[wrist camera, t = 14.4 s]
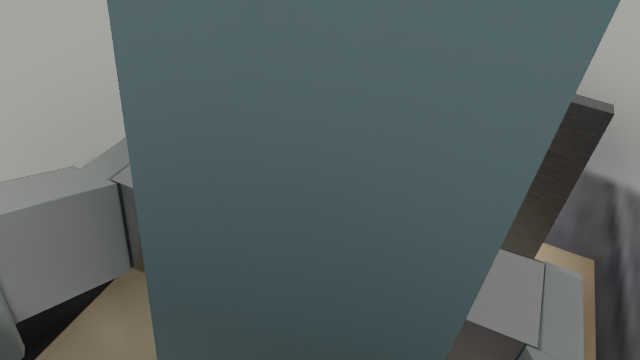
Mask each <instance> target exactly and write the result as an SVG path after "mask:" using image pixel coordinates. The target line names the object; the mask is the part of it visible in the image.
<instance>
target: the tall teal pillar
mask: <svg viewBox="0 0 640 360" xmlns="http://www.w3.org/2000/svg"><path fill="white" fill-rule="evenodd" d="M619 2H620V0H107V3H108V11H109V17H110V25H111V31H112V39H113V46H114V54H115V61H116V68H117V75H118V82H119V89H120V96H121V103H122V111H123V118H124V124H125V132H126V139H127V147H128V154H129V161H130V168H131V175H132V182H133V190H134V197H135V204H136V211H137V218H138V225H139V233H140V240H141V247H142V254H143V261H144V268H145V276H146V283H147V290H148V297H149V304H150V311H151V319H152V326H153V333H154V340H155V347H156V354H157V360H446V359H447V357H448V355H449V353H450V351H451V349H452V347H453V345H454V343H455V341H456V338H457V336H458V334H459V332H460V330H461V328H462V326H463V324H464V322H465V320H466V318H467V316H468V314H469V312H470V310H471V308H472V305H473V303H474V301H475V299H476V297H477V295H478V293H479V291H480V289H481V287H482V285H483V283H484V281H485V279H486V277H487V274H488V272H489V270H490V268H491V266H492V264H493V262H494V260H495V258H496V256H497V254H498V252H499V250H500V248H501V246H502V244H503V241H504V239H505V237H506V235H507V233H508V231H509V229H510V227H511V225H512V223H513V221H514V219H515V217H516V215H517V213H518V211H519V208H520V206H521V204H522V202H523V200H524V198H525V196H526V194H527V192H528V190H529V188H530V186H531V184H532V182H533V180H534V178H535V175H536V173H537V171H538V169H539V167H540V165H541V163H542V161H543V159H544V157H545V155H546V153H547V151H548V149H549V147H550V145H551V142H552V140H553V138H554V136H555V134H556V132H557V130H558V128H559V126H560V124H561V122H562V120H563V118H564V116H565V114H566V112H567V109H568V107H569V105H570V103H571V101H572V99H573V97H574V95H575V93H576V91H577V89H578V87H579V85H580V83H581V81H582V79H583V76H584V74H585V72H586V70H587V68H588V66H589V64H590V62H591V60H592V58H593V56H594V54H595V52H596V50H597V48H598V45H599V43H600V41H601V39H602V37H603V35H604V33H605V31H606V29H607V27H608V25H609V23H610V21H611V19H612V17H613V14H614V12H615V10H616V8H617V6H618V4H619Z"/></svg>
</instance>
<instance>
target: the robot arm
mask: <svg viewBox="0 0 640 360" xmlns="http://www.w3.org/2000/svg"><path fill="white" fill-rule="evenodd" d="M131 268H133V269H135V270H137V271H140V272H142V273H145V268H144V261H143V254H142V247H141V240H140V233H139V225H138V218H137V211H136V204H135V197H134V190H133V182H132V175H131V168H130V161H129V154H128V147H127V139H126V138H124V139H123V140H122V141H120V142H119V143H117V144H116V145H115V146H113V147H112V148H110V149H109V150H108V151H106V152H105V153H103V154H102V155H101V156H99V157H98V158H96V159H95V160H94V161H92V162H91V163H89V164H88V165H87V166H85V167H84V168H82V169H79V168H76V167H68V168H63V169H59V170H55V171H50V172H45V173H41V174H36V175H32V176H27V177H23V178H18V179H14V180H9V181H4V182H0V360H21V359H22V358H23V357H24V352H25V346H24V344H23V342H22V339H21V337H20V335H19V332H18V330H17V328H16V325H15V324H16V323H18V322H20V321H23V320H25V319H27V318H29V317H31V316H34V315H36V314H38V313H40V312H42V311H44V310H47V309H49V308H51V307H53V306H55V305H58V304H60V303H62V302H64V301H66V300H69V299H71V298H73V297H75V296H77V295H80V294H82V293H84V292H86V291H88V290H90V289H93V288H95V287H97V286H99V285H101V284H104V283H106V282H108V281H110V280H112V279H115V278H117V277H119V276H121V275H123V274H125V273H128V272H130V271H131ZM446 360H584V310H583V278H582V276H581V274H580V273H578V272H575V271H572V270H569V269H566V268H563V267H560V266H557V265H554V264H551V263H548V262H545V261H543V262H541V261H539V260H537V259H534V258H531V257H528V256H525V255H522V254H519V253H516V252H514V251H511V250H508V249H505V248H502V247H501V248H500V250H499V252H498V254H497V256H496V258H495V260H494V262H493V264H492V266H491V268H490V270H489V272H488V274H487V277H486V279H485V281H484V283H483V285H482V287H481V289H480V291H479V293H478V295H477V297H476V299H475V301H474V303H473V305H472V308H471V310H470V312H469V314H468V316H467V318H466V320H465V322H464V324H463V326H462V328H461V330H460V332H459V334H458V336H457V338H456V341H455V343H454V345H453V347H452V349H451V351H450V353H449V355H448V357H447V359H446Z"/></svg>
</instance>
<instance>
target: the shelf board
mask: <svg viewBox="0 0 640 360" xmlns="http://www.w3.org/2000/svg"><path fill="white" fill-rule="evenodd" d="M534 259H537V260H539V261H541V262H543V261H545V262H548V263H551V264H554V265H557V266H560V267H563V268H566V269H569V270H572V271H575V272H578V273H580V274H581V276H582V278H583V310H584V360H596V331H595V279H594V260H591V259H588V258H585V257H582V256H579V255H576V254H574V253H571V252H568V251H565V250H562V249H559V248H556V247H554V246H551V245H548V244H545V243H543V244H542V245H541V247H540V249H539V251H538V253H537V255H536V256H535V258H534ZM35 360H157V354H156V347H155V340H154V333H153V326H152V319H151V311H150V304H149V297H148V290H147V283H146V276H145V273H142V272H140V271H137V270H135V269H133V268H131V271H130V272H128V273H125V274H123V275H121V276H119V277H117V278H116V279H115V280H114V281H113V282H112V283H111V284H110V285H109V286H108V287H107V288H106V289H105V290H104V291H103V292H102V293H101V294H100V295H99V296H98V297H97V298H96V299H95V300H94V301H93V302H92V303H91V304H90V305H89V306H88V307H87V308H86V309H85V310H84V311H83V312H82V313H81V314H80V315H79V316H78V317H77V318H76V319H75V320H74V321H73V322H72V323H71V324H70V325H69V326H68V327H67V328H66V329H65V330H64V331H63V332H62V333H61V334H60V335H59V336H58V337H57V338H56V339H55V340H54V341H53V342H52V343H51V344H50V345H49V346H48V347H47V348H46V349H45V350H44V351H43V352H42V353H41V354H40V355H39V356H38V357H37V358H36V359H35Z"/></svg>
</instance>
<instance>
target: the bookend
mask: <svg viewBox="0 0 640 360" xmlns="http://www.w3.org/2000/svg"><path fill="white" fill-rule="evenodd" d="M613 115H614V105H612V104H608V103H605V102H601V101H598V100H594V99H591V98H587V97H584V96H580V95H576V94H575V95H574V97H573V99H572V101H571V103H570V105H569V107H568V109H567V112H566V114H565V116H564V118H563V120H562V122H561V124H560V126H559V128H558V130H557V132H556V134H555V136H554V138H553V140H552V142H551V145H550V147H549V149H548V151H547V153H546V155H545V157H544V159H543V161H542V163H541V165H540V167H539V169H538V171H537V173H536V175H535V178H534V180H533V182H532V184H531V186H530V188H529V190H528V192H527V194H526V196H525V198H524V200H523V202H522V204H521V206H520V208H519V211H518V213H517V215H516V217H515V219H514V221H513V223H512V225H511V227H510V229H509V231H508V233H507V235H506V237H505V239H504V241H503V244H502V246H501V247H502V248H505V249H508V250H511V251H514V252H516V253H519V254H522V255H525V256H528V257H531V258H535V256H536V255H537V253H538V251H539V249H540V247H541V245H542V244H543V242H544V240H545V238H546V236H547V235H548V233H549V231H550V229H551V227H552V226H553V224H554V222H555V220H556V218H557V217H558V215H559V213H560V211H561V209H562V208H563V206H564V204H565V202H566V200H567V199H568V197H569V195H570V193H571V191H572V190H573V188H574V186H575V184H576V182H577V180H578V179H579V177H580V175H581V173H582V171H583V170H584V168H585V166H586V164H587V162H588V161H589V159H590V157H591V155H592V153H593V151H594V150H595V148H596V146H597V144H598V143H599V141H600V139H601V137H602V135H603V133H604V132H605V130H606V128H607V126H608V125H609V123H610V121H611V119H612V117H613Z"/></svg>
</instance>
